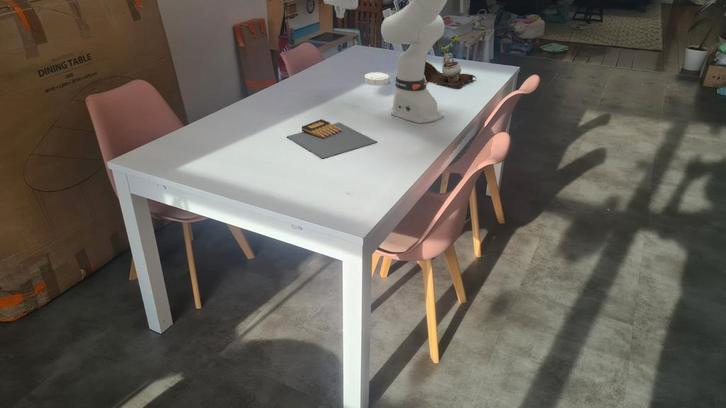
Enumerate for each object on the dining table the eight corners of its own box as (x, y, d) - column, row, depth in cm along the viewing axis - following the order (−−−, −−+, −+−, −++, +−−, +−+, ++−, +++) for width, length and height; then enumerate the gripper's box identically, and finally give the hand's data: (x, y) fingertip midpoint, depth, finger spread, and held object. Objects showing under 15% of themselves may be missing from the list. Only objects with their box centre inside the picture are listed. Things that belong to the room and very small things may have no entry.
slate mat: (377, 142, 193) (377, 141, 192) (322, 159, 180) (322, 158, 180) (339, 123, 209) (339, 122, 209) (286, 137, 196) (286, 136, 196)
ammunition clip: (301, 131, 200) (324, 140, 193) (301, 126, 199) (324, 136, 193) (321, 123, 207) (343, 132, 200) (321, 119, 206) (344, 127, 199)
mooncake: (388, 78, 263) (388, 71, 261) (389, 86, 253) (389, 78, 251) (364, 78, 263) (364, 71, 261) (364, 85, 253) (364, 78, 251)
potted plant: (460, 95, 249) (449, 43, 237) (426, 97, 260) (414, 48, 249) (478, 78, 261) (468, 28, 249) (445, 80, 273) (433, 33, 261)
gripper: (319, -21, 219) (320, 14, 226) (348, -15, 205) (348, 22, 212) (331, -22, 223) (332, 13, 230) (361, -16, 209) (360, 20, 216)
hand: (340, 17), depth 221 cm, fingers closed
